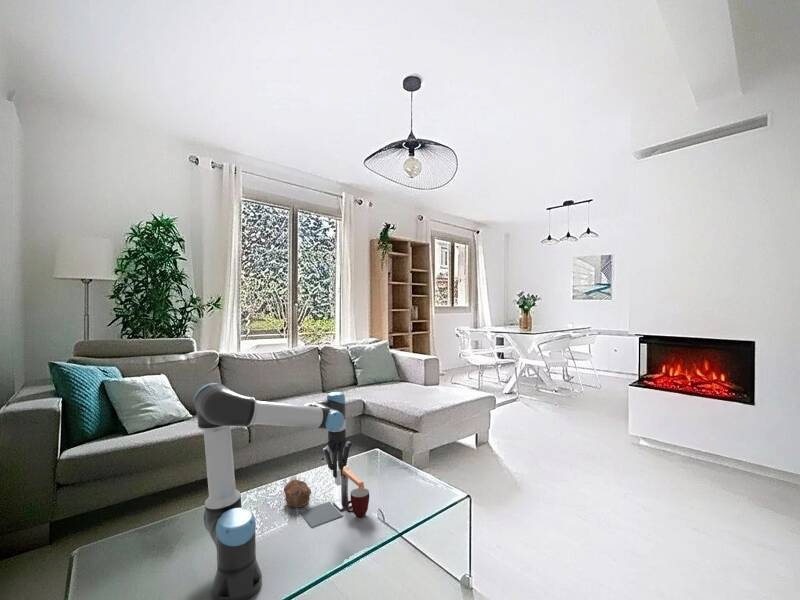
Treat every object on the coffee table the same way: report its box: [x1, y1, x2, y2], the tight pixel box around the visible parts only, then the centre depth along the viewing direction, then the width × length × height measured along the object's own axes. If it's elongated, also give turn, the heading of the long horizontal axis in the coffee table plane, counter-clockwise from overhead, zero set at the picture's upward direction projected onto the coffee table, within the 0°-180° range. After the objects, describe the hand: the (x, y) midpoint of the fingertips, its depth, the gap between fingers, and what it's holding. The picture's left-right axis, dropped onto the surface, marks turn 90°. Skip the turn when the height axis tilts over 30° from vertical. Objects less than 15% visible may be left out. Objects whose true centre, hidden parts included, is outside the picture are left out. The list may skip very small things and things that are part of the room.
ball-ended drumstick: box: [342, 466, 365, 492], centre depth 169 cm, size 4×19×4 cm, turn 34°
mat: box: [299, 501, 343, 529], centre depth 168 cm, size 14×14×1 cm
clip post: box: [332, 474, 352, 512], centre depth 175 cm, size 8×8×14 cm
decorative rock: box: [283, 478, 312, 508], centre depth 177 cm, size 13×11×10 cm
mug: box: [345, 487, 370, 519], centre depth 166 cm, size 10×8×10 cm
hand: (337, 483), depth 165 cm, fingers closed
